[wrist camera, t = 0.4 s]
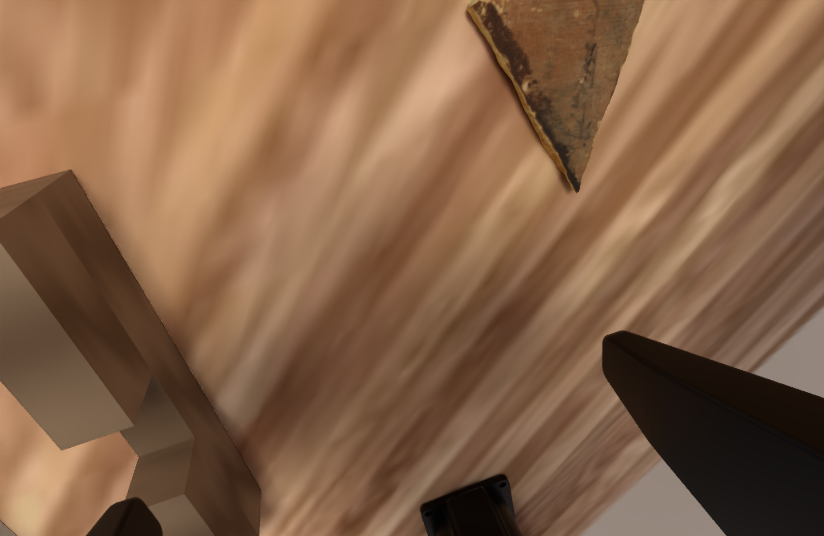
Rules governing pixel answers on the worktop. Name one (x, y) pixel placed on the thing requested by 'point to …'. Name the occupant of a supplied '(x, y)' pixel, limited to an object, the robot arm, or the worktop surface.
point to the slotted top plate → (5, 530)
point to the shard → (561, 65)
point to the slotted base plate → (110, 362)
